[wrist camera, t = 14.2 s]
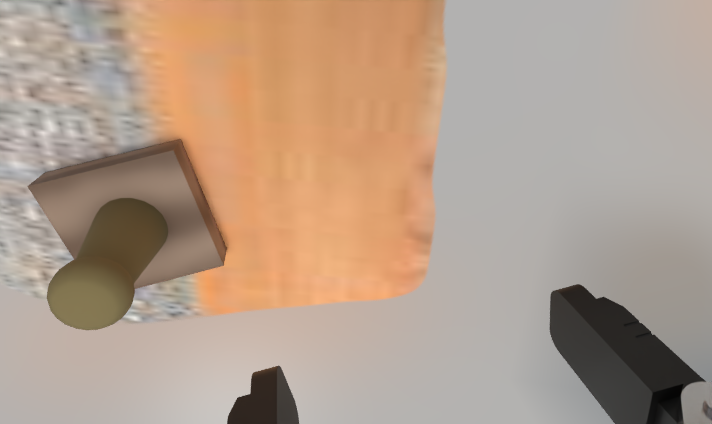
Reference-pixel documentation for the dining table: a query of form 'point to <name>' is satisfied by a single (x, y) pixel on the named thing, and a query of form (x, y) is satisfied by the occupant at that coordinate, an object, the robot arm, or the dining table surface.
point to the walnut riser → (143, 182)
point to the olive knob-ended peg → (107, 265)
